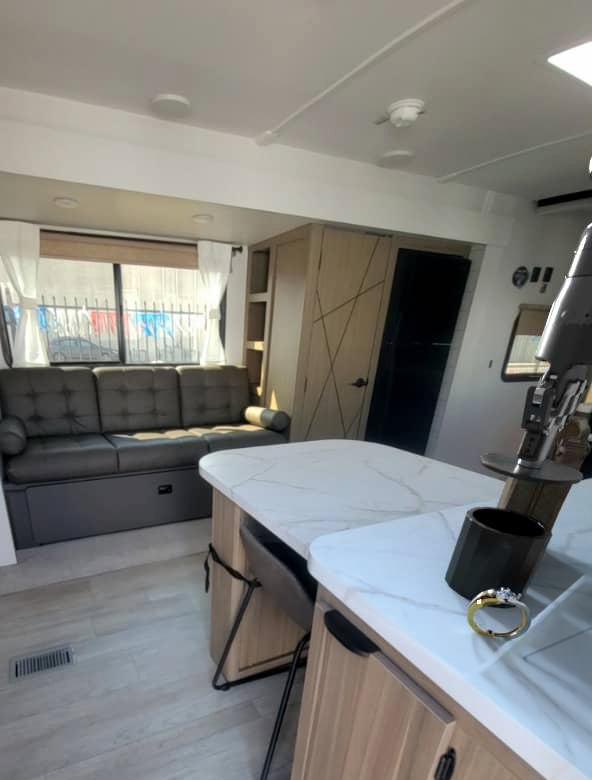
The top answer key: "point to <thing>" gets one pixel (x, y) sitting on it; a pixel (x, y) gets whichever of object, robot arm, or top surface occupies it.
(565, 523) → the top surface
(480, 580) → the tin
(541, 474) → the lid
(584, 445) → the weathered brown block
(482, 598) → the ring
